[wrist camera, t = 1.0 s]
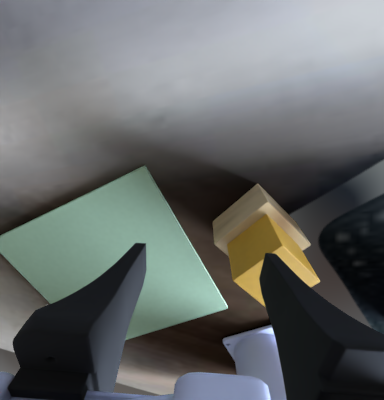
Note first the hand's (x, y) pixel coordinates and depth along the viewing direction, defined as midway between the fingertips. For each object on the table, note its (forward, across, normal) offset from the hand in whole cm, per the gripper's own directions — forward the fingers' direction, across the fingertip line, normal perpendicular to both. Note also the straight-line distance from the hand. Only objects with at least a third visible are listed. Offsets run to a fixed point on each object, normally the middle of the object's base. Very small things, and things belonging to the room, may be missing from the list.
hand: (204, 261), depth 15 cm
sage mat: (+10, +9, +11) cm, 18 cm away
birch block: (+10, -5, +3) cm, 12 cm away
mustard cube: (+6, -5, +3) cm, 9 cm away
